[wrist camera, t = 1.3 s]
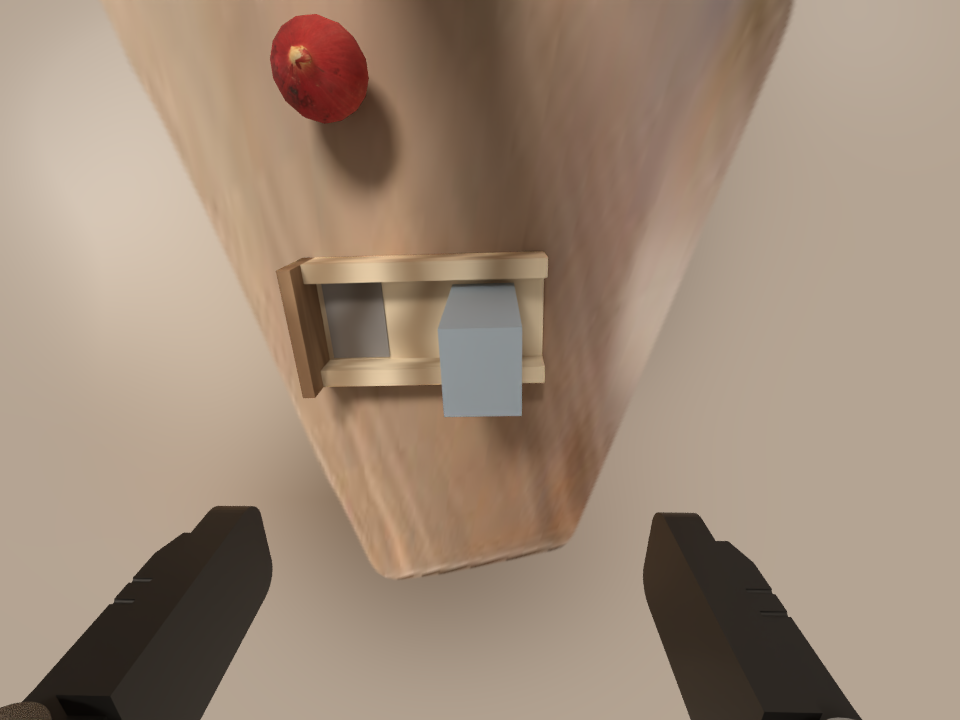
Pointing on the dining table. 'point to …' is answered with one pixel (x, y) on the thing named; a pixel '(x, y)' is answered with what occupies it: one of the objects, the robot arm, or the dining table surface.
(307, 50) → the pomegranate
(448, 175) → the dining table surface
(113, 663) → the robot arm
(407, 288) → the wooden tray frame
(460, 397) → the block
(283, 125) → the dining table surface
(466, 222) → the dining table surface
